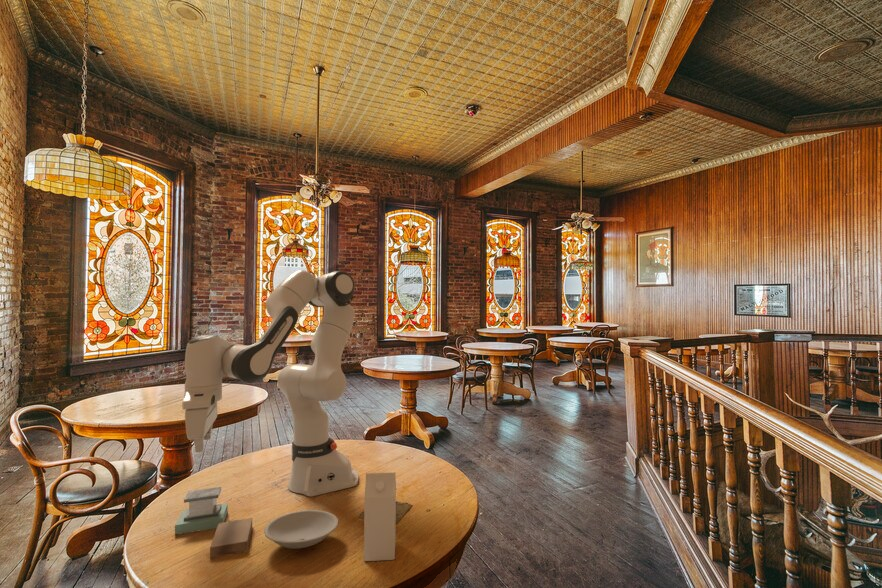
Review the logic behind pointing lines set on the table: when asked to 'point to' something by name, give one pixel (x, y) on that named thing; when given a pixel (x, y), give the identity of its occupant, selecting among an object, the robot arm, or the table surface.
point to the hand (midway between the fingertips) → (203, 444)
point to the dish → (301, 528)
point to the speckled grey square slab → (400, 511)
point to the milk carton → (379, 516)
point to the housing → (202, 503)
